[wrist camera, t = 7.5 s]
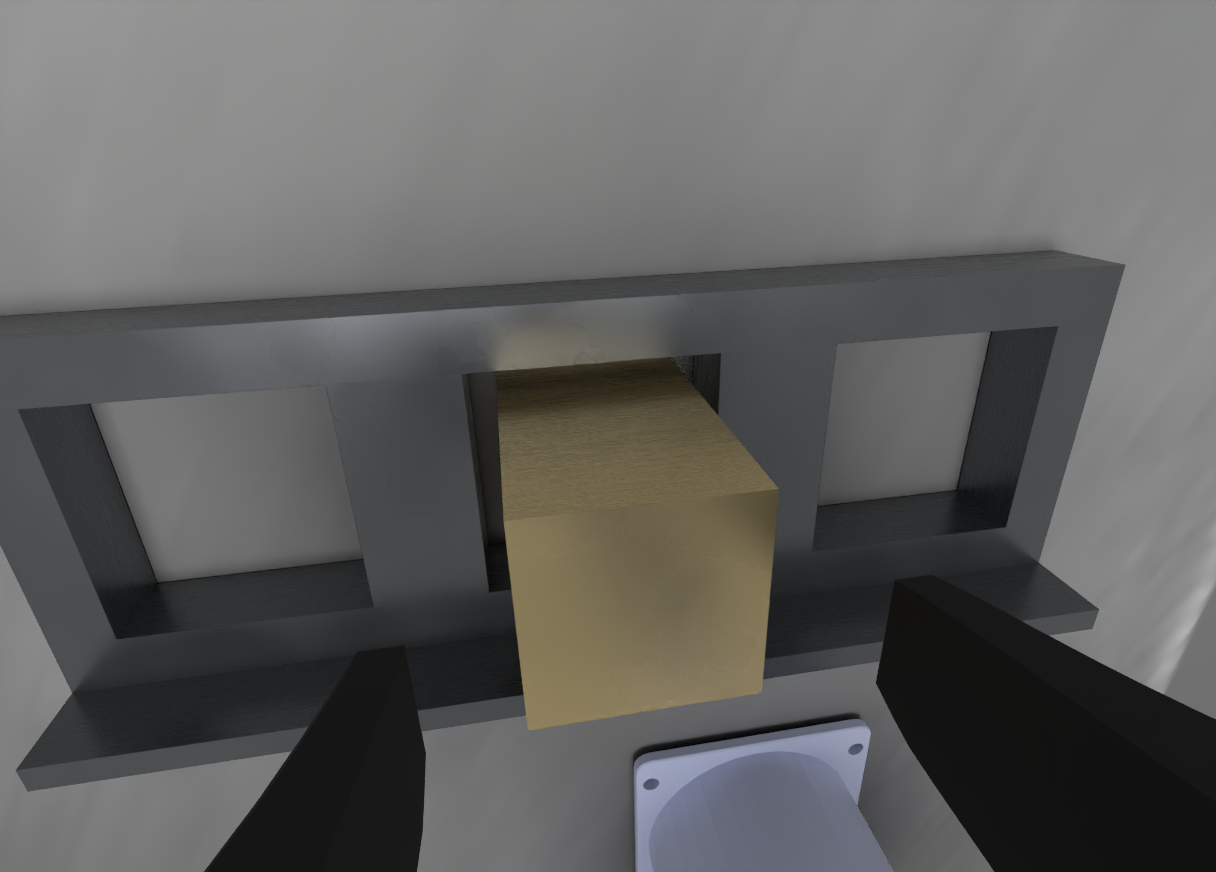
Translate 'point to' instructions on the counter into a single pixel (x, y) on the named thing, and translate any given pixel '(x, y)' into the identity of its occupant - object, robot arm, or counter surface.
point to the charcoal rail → (452, 494)
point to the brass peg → (630, 542)
